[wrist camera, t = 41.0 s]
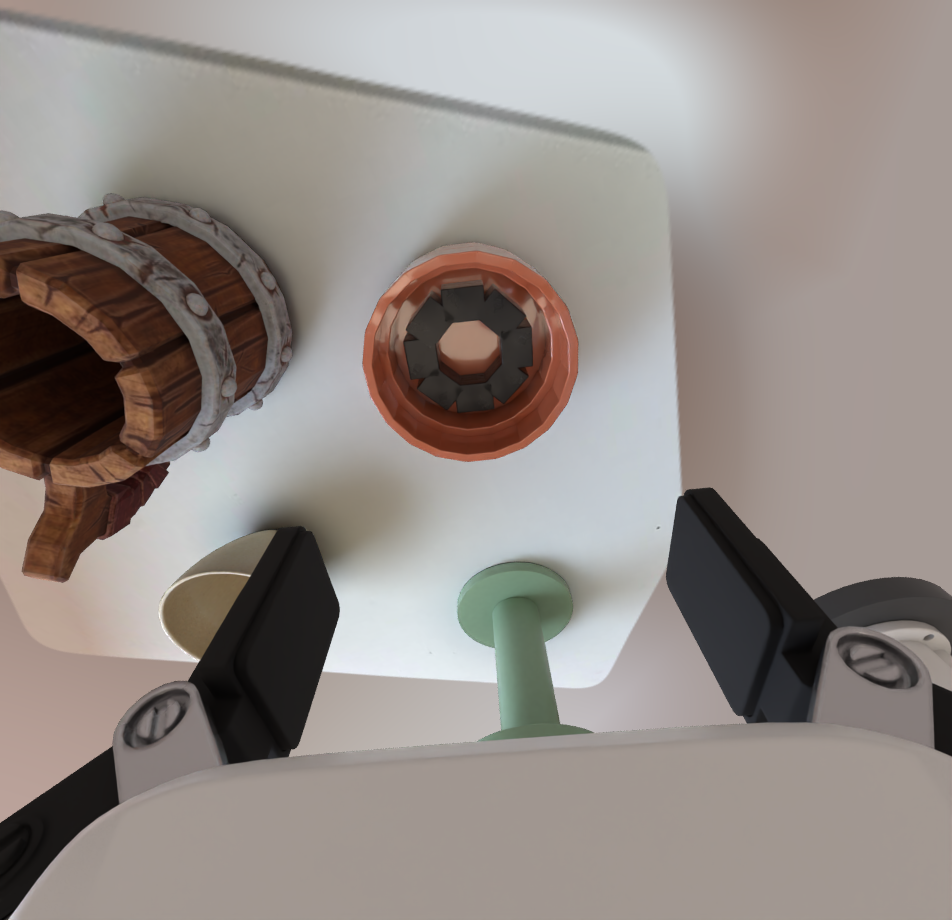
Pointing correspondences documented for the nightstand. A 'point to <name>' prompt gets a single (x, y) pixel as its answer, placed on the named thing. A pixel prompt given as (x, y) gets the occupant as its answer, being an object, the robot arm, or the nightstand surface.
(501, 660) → the stand
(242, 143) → the nightstand surface
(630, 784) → the robot arm
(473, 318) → the ring
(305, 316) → the nightstand surface
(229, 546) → the flower pot
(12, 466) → the mug
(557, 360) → the bowl
